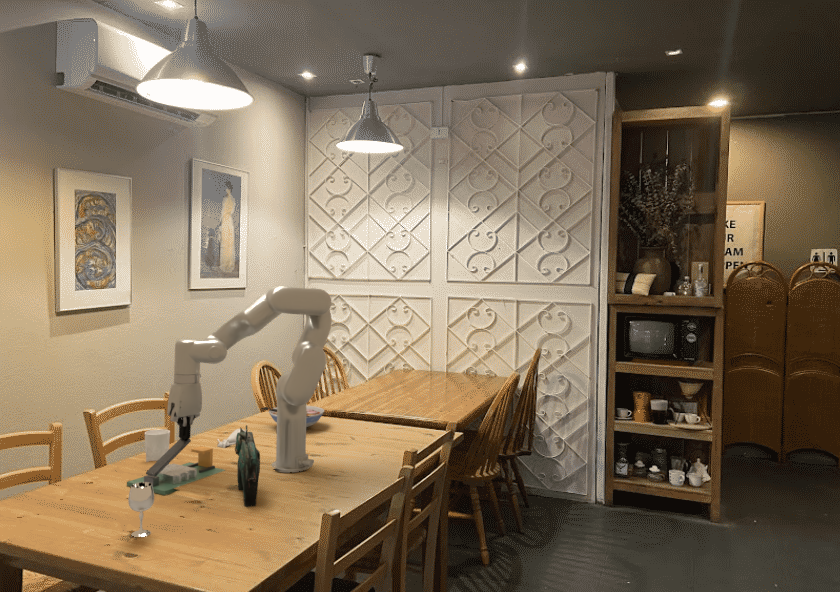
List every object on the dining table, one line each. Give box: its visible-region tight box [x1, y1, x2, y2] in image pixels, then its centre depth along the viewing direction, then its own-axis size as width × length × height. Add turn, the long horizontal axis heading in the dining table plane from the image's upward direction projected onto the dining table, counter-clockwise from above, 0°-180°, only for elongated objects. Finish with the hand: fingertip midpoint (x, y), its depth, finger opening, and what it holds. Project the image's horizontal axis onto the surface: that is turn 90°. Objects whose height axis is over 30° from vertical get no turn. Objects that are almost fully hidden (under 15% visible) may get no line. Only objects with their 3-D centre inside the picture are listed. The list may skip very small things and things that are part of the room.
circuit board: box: [126, 461, 226, 496], centre depth 198 cm, size 16×24×2 cm, turn 153°
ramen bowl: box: [260, 405, 325, 428], centre depth 269 cm, size 25×23×8 cm
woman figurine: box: [216, 428, 246, 449], centre depth 242 cm, size 12×4×18 cm
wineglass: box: [127, 482, 155, 538], centre depth 157 cm, size 6×6×12 cm
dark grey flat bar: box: [145, 438, 192, 477], centre depth 195 cm, size 4×16×1 cm, turn 153°
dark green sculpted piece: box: [234, 424, 261, 508], centre depth 185 cm, size 20×6×20 cm, turn 21°
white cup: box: [144, 428, 171, 463], centre depth 217 cm, size 8×8×10 cm
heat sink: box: [143, 463, 197, 487], centre depth 195 cm, size 12×14×2 cm
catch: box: [190, 446, 214, 467], centre depth 207 cm, size 5×4×6 cm
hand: (184, 437), depth 201 cm, fingers closed
